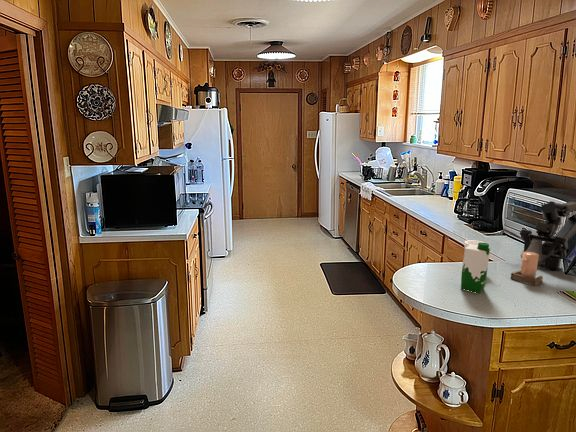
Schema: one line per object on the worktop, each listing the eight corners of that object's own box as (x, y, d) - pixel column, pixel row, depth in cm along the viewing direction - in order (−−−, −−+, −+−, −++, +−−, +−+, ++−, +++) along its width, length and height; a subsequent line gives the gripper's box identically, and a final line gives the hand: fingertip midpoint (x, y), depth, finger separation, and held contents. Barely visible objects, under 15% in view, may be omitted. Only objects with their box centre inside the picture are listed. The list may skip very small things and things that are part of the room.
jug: (523, 276, 194) (527, 250, 191) (537, 280, 189) (541, 254, 186) (514, 280, 189) (517, 254, 186) (528, 284, 184) (532, 258, 181)
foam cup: (470, 274, 195) (473, 246, 192) (457, 267, 204) (460, 240, 201) (488, 272, 198) (491, 245, 195) (474, 265, 206) (477, 239, 203)
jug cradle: (518, 274, 195) (519, 269, 195) (542, 281, 188) (542, 276, 187) (510, 278, 191) (511, 273, 190) (534, 285, 183) (535, 280, 183)
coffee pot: (546, 261, 215) (551, 232, 211) (546, 268, 205) (551, 237, 201) (498, 253, 225) (502, 225, 222) (496, 259, 215) (500, 230, 212)
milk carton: (480, 295, 172) (486, 247, 168) (457, 289, 178) (462, 243, 173) (486, 289, 179) (493, 242, 174) (464, 283, 185) (469, 238, 180)
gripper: (524, 211, 196) (509, 238, 192) (570, 220, 182) (554, 249, 178) (529, 226, 203) (515, 252, 199) (574, 235, 188) (559, 264, 184)
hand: (535, 254), depth 190 cm, fingers open, 9 cm apart
